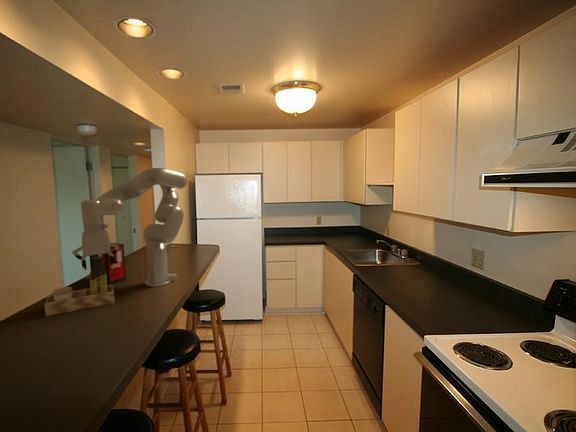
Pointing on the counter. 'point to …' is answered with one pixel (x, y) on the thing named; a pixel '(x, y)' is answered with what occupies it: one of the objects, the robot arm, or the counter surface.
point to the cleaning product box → (113, 265)
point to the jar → (62, 293)
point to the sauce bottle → (97, 277)
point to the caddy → (79, 301)
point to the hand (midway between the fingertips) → (98, 266)
